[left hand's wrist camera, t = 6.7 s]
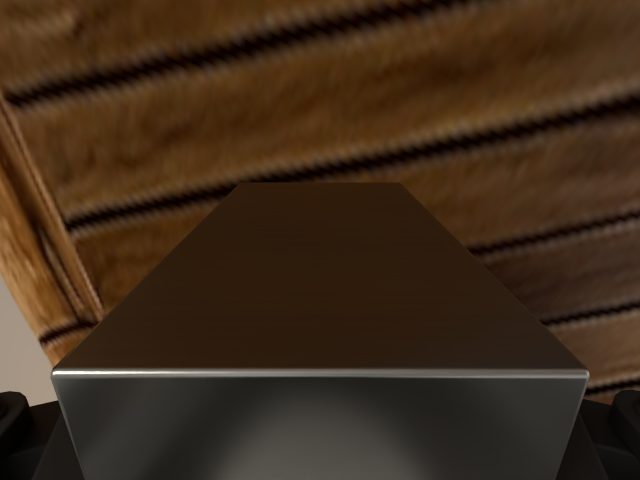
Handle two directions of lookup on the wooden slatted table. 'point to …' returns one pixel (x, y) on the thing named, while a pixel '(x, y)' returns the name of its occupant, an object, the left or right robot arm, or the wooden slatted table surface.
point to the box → (320, 353)
